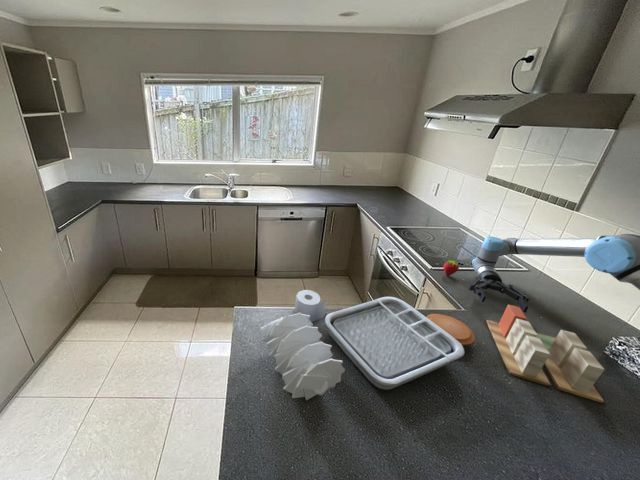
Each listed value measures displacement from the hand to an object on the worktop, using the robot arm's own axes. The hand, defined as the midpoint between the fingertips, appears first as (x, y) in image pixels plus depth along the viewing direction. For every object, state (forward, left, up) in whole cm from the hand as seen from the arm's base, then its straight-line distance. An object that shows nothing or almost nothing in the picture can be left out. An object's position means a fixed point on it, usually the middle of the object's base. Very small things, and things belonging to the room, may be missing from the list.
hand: (504, 304), depth 111 cm
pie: (+8, +28, -7) cm, 30 cm away
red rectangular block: (-5, +8, -6) cm, 11 cm away
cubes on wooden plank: (-19, +10, -7) cm, 23 cm away
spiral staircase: (+29, +86, -7) cm, 91 cm away
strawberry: (+25, -18, -7) cm, 32 cm away
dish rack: (+18, +53, -7) cm, 57 cm away
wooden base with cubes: (-9, +16, -7) cm, 19 cm away
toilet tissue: (+46, +63, -7) cm, 78 cm away
